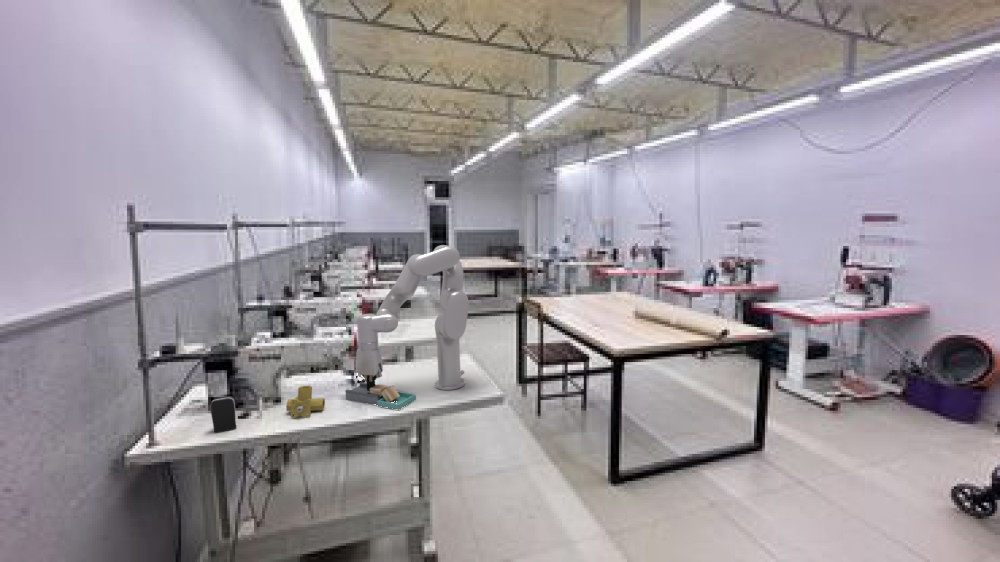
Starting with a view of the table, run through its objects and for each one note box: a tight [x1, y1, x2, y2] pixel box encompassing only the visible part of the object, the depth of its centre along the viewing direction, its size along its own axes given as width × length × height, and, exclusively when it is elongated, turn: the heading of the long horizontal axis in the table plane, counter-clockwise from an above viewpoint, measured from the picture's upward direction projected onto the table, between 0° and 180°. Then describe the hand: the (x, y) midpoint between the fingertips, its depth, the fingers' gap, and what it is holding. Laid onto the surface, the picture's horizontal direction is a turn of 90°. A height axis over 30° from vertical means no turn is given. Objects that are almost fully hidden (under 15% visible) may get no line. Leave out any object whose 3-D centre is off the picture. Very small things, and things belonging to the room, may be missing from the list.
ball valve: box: [285, 385, 326, 420], centre depth 164 cm, size 13×10×10 cm
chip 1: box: [370, 383, 389, 396], centre depth 174 cm, size 5×5×2 cm
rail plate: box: [344, 381, 390, 406], centre depth 177 cm, size 9×16×4 cm, turn 66°
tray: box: [376, 390, 417, 410], centre depth 171 cm, size 11×10×2 cm
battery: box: [210, 395, 237, 433], centre depth 152 cm, size 7×4×11 cm, turn 116°
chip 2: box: [381, 385, 400, 403], centre depth 172 cm, size 5×5×2 cm
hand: (371, 389), depth 176 cm, fingers closed
